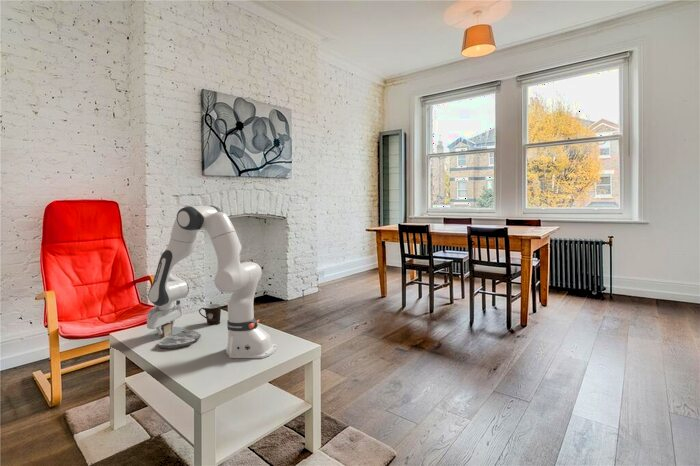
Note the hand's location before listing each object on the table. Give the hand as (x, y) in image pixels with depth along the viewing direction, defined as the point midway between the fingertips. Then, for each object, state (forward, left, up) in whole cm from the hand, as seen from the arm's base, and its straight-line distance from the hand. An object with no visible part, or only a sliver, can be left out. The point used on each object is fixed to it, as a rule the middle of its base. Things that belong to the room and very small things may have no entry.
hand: (165, 331), depth 183 cm
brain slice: (-13, +5, -3) cm, 14 cm away
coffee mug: (-10, -23, -3) cm, 25 cm away
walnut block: (0, 0, -2) cm, 2 cm away
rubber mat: (+5, -4, -3) cm, 7 cm away
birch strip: (+6, -4, -2) cm, 8 cm away
